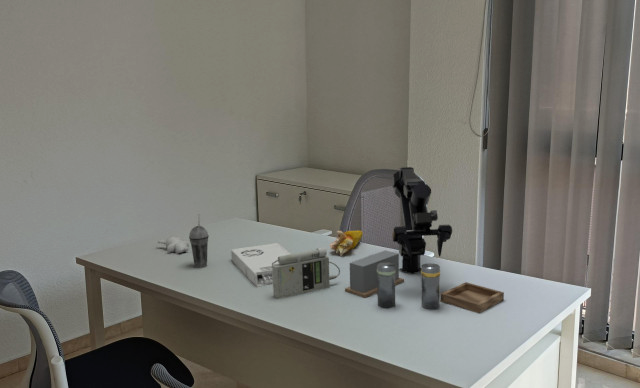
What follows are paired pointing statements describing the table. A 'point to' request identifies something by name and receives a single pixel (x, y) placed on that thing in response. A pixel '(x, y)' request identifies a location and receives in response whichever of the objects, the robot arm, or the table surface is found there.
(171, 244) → the bunny figurine
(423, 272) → the cylinder
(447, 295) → the tray
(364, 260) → the block
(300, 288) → the geiger counter
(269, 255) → the power supply unit
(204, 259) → the beverage cup
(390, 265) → the cylinder
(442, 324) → the table surface
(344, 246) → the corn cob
